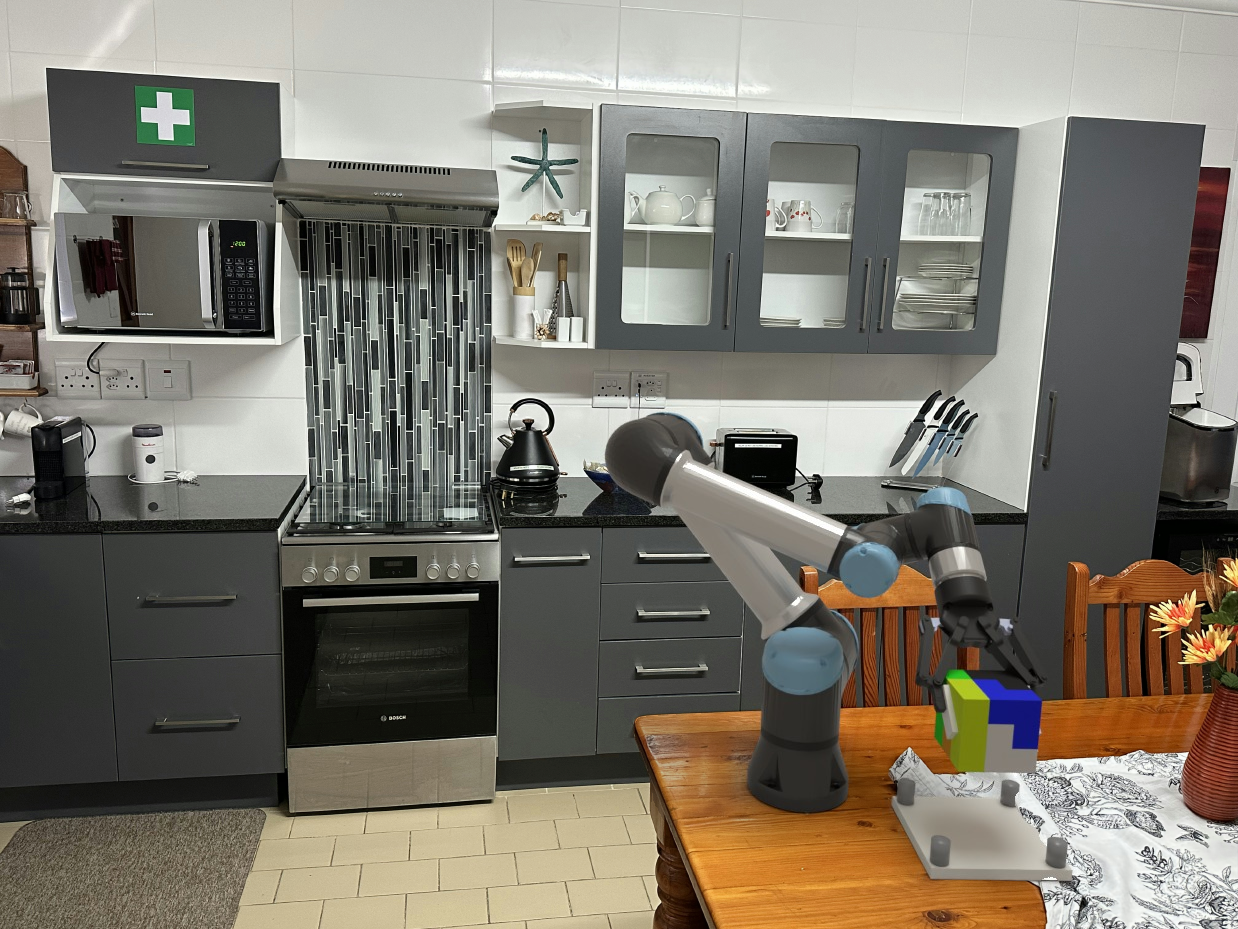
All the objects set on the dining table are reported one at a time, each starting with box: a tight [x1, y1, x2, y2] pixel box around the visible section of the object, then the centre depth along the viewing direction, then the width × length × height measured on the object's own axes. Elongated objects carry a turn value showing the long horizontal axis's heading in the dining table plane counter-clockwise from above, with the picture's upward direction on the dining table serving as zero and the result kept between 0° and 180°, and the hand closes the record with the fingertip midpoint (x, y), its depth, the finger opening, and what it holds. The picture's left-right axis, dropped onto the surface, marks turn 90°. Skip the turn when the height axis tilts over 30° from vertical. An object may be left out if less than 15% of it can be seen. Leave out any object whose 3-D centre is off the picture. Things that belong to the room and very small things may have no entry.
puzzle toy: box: [933, 669, 1043, 774], centre depth 127 cm, size 10×10×10 cm
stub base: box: [891, 777, 1073, 882], centre depth 130 cm, size 18×18×4 cm
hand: (993, 736), depth 124 cm, fingers closed on puzzle toy, 10 cm apart
